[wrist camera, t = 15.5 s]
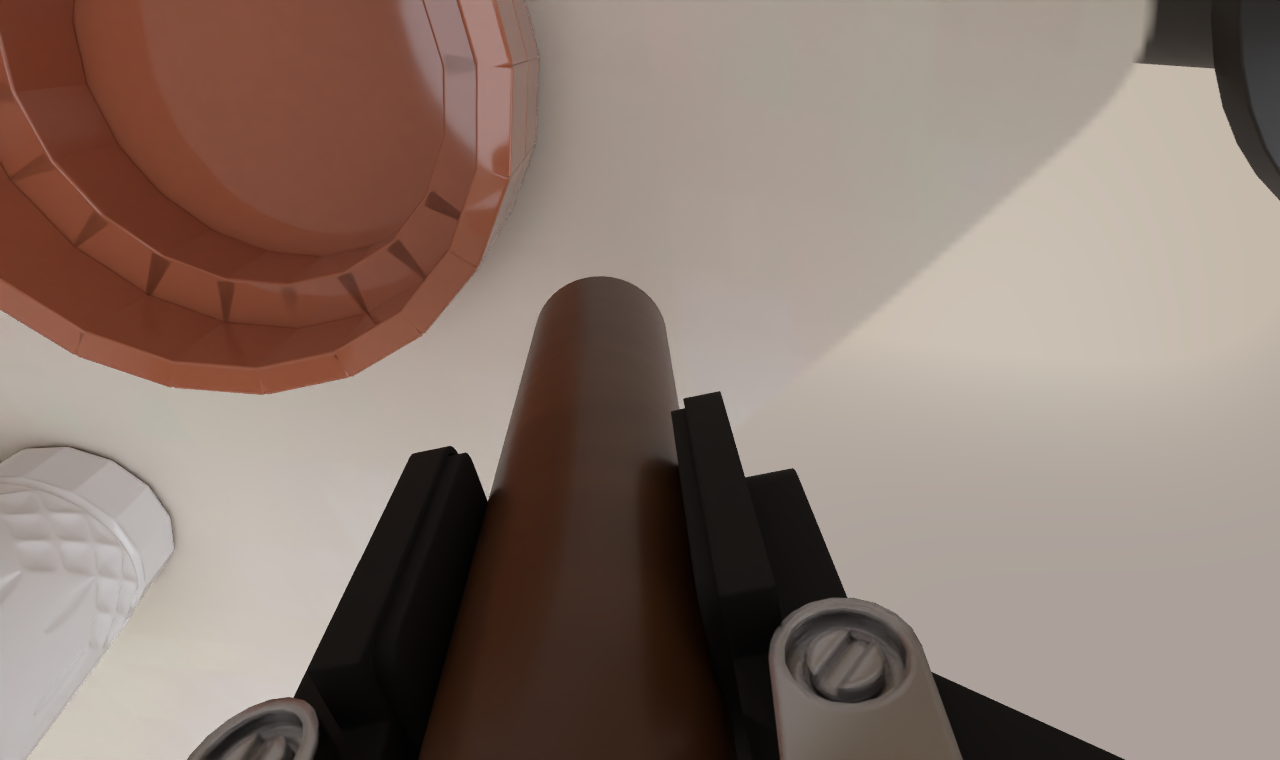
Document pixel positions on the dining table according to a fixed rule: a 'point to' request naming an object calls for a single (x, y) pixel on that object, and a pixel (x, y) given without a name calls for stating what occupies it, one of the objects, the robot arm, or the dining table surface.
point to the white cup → (67, 578)
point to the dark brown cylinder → (584, 561)
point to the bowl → (254, 177)
